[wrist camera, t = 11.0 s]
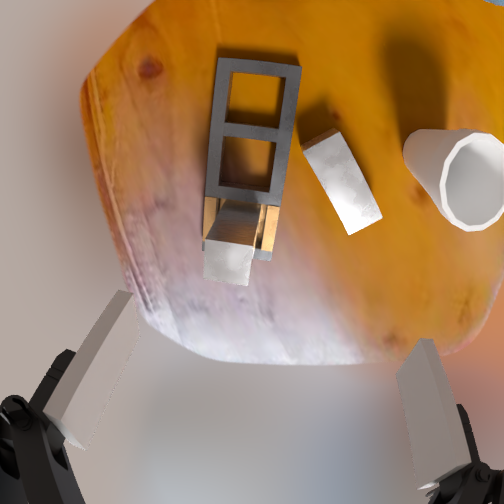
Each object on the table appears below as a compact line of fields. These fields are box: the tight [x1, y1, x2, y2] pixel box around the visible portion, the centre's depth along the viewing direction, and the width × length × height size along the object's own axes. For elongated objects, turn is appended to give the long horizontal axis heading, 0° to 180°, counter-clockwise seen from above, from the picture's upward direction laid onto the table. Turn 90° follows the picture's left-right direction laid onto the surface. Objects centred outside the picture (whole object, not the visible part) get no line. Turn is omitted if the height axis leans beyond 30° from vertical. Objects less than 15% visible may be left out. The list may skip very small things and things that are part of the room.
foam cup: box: [403, 129, 504, 232], centre depth 26 cm, size 10×9×13 cm
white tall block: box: [203, 200, 261, 286], centre depth 34 cm, size 4×4×11 cm
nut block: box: [300, 128, 383, 235], centre depth 33 cm, size 11×4×4 cm, turn 33°
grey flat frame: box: [202, 58, 302, 261], centre depth 34 cm, size 24×9×2 cm, turn 173°
